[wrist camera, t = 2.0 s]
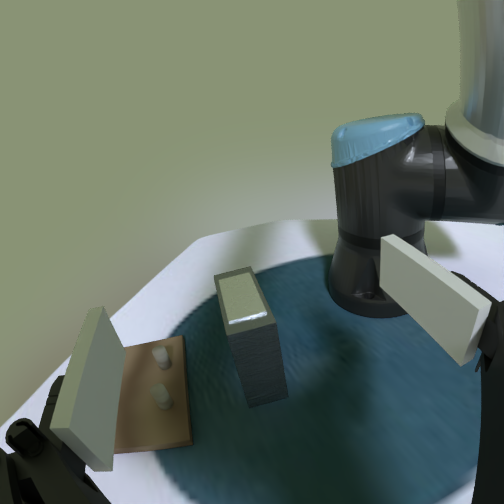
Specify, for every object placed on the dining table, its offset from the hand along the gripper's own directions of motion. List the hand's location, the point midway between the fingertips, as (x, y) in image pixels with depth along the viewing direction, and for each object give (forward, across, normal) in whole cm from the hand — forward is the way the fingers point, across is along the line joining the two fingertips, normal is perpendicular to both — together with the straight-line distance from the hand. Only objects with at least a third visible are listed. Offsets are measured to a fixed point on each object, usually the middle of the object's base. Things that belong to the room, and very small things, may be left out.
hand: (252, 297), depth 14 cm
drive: (+13, 0, -18) cm, 22 cm away
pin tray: (+13, -14, -18) cm, 26 cm away
